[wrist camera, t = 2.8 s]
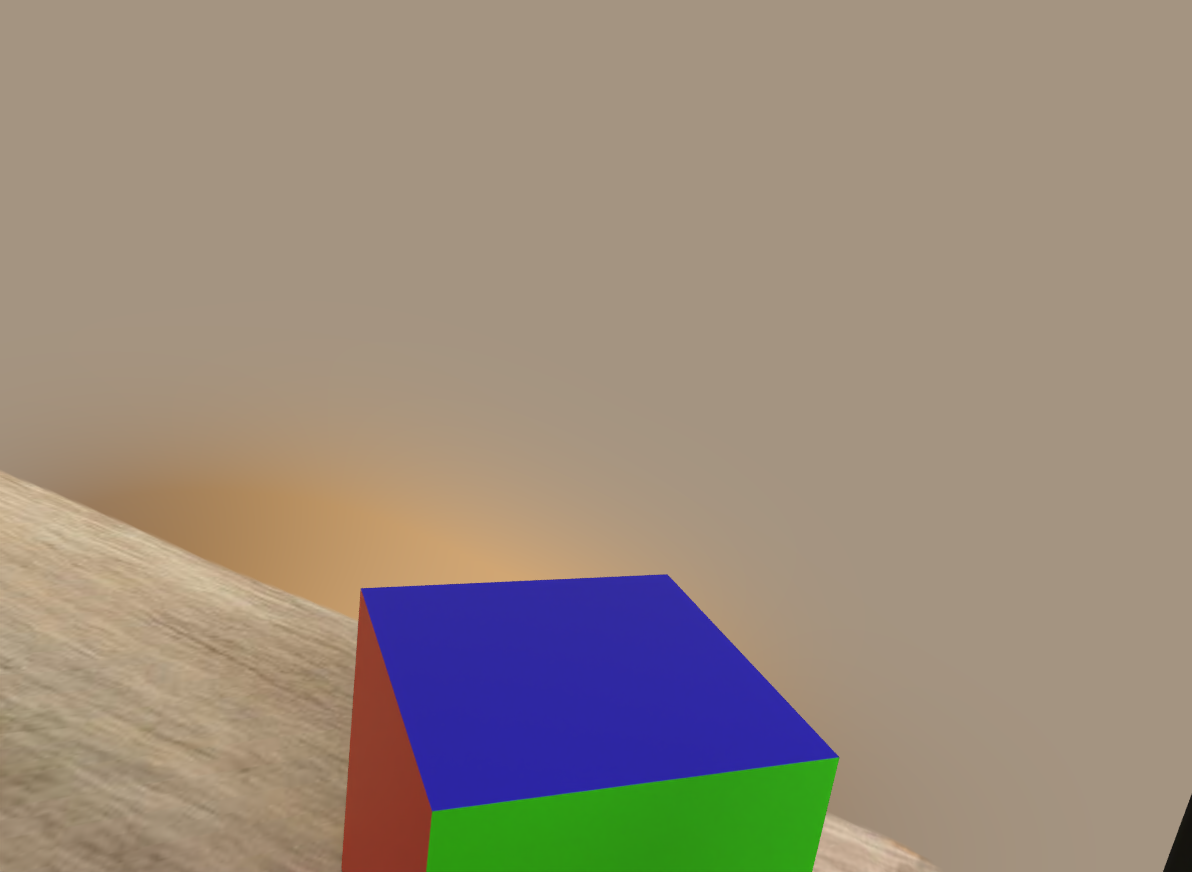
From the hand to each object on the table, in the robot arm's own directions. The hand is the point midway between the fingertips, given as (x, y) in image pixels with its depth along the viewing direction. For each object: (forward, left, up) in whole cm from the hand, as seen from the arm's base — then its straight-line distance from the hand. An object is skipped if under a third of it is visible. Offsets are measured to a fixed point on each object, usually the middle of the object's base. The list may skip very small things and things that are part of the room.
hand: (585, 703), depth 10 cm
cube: (+5, -8, -13) cm, 17 cm away
